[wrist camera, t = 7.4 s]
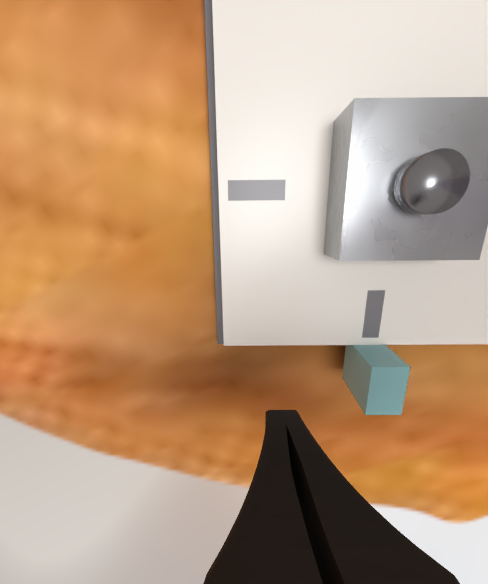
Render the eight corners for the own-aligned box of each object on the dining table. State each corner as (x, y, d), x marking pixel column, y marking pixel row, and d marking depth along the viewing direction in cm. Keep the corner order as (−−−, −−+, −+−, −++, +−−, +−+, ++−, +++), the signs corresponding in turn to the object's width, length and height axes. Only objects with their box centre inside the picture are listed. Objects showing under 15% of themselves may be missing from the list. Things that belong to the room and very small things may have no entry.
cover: (466, 119, 13) (547, 83, 9) (440, 253, 14) (500, 263, 11) (333, 121, 13) (365, 85, 9) (323, 254, 14) (347, 264, 11)
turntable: (601, -19, 12) (742, -113, 9) (488, 376, 18) (546, 414, 14) (213, -13, 12) (201, -104, 9) (226, 378, 18) (221, 415, 14)
